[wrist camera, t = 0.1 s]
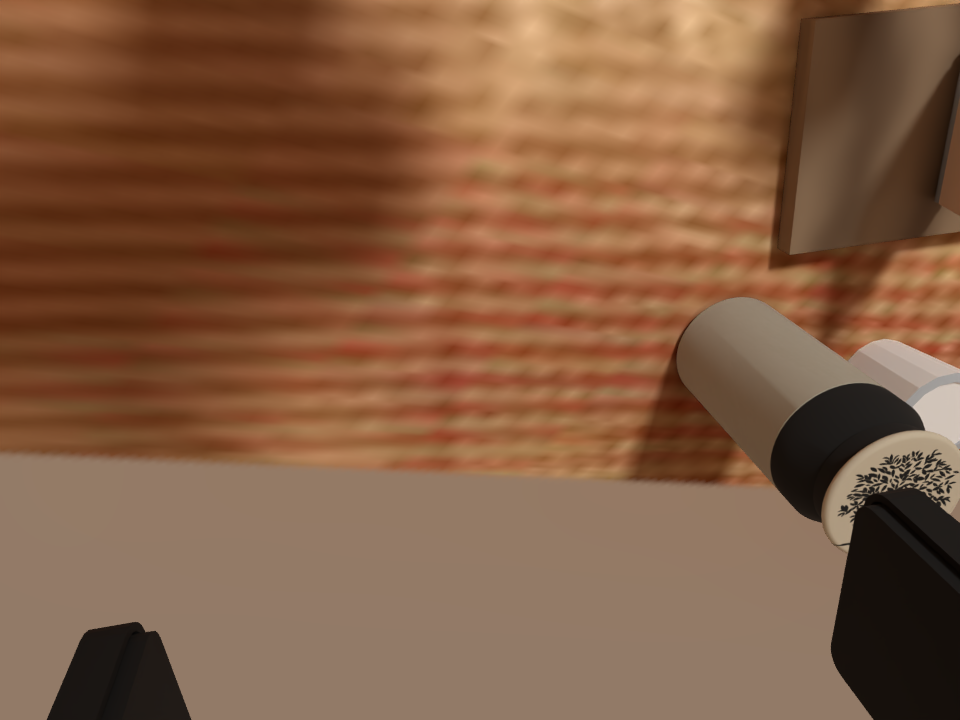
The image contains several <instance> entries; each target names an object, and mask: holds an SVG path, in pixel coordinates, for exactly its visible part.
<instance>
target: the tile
mask: <svg viewBox="0 0 960 720" xmlns="http://www.w3.org/2000/svg"><path fill="white" fill-rule="evenodd" d="M934 201H935V202H937V203H939V204H940V205H942V206H943V207H945V208H947V209H949V210H950V211H952V212H954V213H955V214H957V215H959V216H960V72H959V77H958V82H957V87H956V92H955V97H954V102H953V107H952V112H951V118H950V123H949V128H948V133H947V138H946V143H945V148H944V153H943V158H942V163H941V168H940V173H939V179H938V184H937V189H936V194H935V199H934Z"/></svg>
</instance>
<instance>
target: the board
mask: <svg viewBox="0 0 960 720" xmlns="http://www.w3.org/2000/svg"><path fill="white" fill-rule="evenodd" d="M959 72H960V3H959V4H949V5H939V6H929V7H919V8H909V9H899V10H889V11H879V12H869V13H859V14H848V15H838V16H828V17H818V18H808V19H801V27H800V36H799V46H798V56H797V65H796V75H795V84H794V94H793V104H792V113H791V123H790V133H789V142H788V152H787V162H786V171H785V181H784V191H783V200H782V210H781V220H780V229H779V239H778V249H780V250H782V251H784V252H785V253H787V254H789V255H792V254H800V253H807V252H814V251H822V250H829V249H836V248H844V247H851V246H858V245H866V244H873V243H880V242H887V241H895V240H902V239H909V238H917V237H924V236H931V235H939V234H946V233H953V232H960V216H959V215H957V214H955V213H954V212H952V211H950V210H949V209H947V208H945V207H943V206H942V205H940V204H939V203H937V202H935V201H934V199H935V194H936V189H937V184H938V179H939V173H940V168H941V163H942V158H943V153H944V148H945V143H946V138H947V133H948V128H949V123H950V118H951V112H952V107H953V102H954V97H955V92H956V87H957V82H958V77H959Z"/></svg>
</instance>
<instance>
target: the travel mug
mask: <svg viewBox="0 0 960 720" xmlns="http://www.w3.org/2000/svg"><path fill="white" fill-rule="evenodd" d="M677 370H678V373H679V376H680V378H681V380H682V382H683V383H684V385H685V386H686V387H687V388H688V389H689V391H690V392H691V393H692V394H693V395H694V396H695V397H696V398H697V399H698V401H699V402H700V403H701V404H702V405H703V406H704V407H705V408H706V410H707V411H708V412H709V413H710V414H711V415H712V416H713V417H714V419H715V420H716V421H717V422H718V423H719V424H720V425H721V426H722V428H723V429H724V430H725V431H726V432H727V433H728V434H729V435H730V436H731V438H732V439H733V440H734V441H735V442H736V443H737V444H738V445H739V447H740V448H741V449H742V450H743V451H744V452H745V453H746V454H747V456H748V457H749V458H750V459H751V460H752V461H753V462H754V463H755V465H756V466H757V467H758V468H759V469H760V470H761V471H762V472H763V473H764V475H765V476H766V477H767V478H768V479H769V480H770V481H771V482H772V484H773V485H774V486H775V487H776V488H777V489H778V490H779V491H780V493H781V494H782V495H783V496H784V497H785V498H786V499H787V500H788V501H789V503H790V504H791V505H792V506H793V507H794V508H795V509H796V510H797V511H798V512H799V513H800V514H802V515H803V516H805V517H807V518H809V519H811V520H814V521H817V522H821V523H822V524H823V529H824V531H825V534H826V535H827V537H828V539H829V540H830V541H831V543H832V544H833V545H834V546H836V547H837V548H838V549H840V550H841V551H843V552H845V553H848V550H849V545H850V540H851V534H852V529H853V524H854V518H855V514H856V511H857V510H858V509H859V508H860V507H863V506H864V503H865V500H866V498H867V497H868V496H869V495H872V494H875V493H881V492H887V491H892V490H898V489H904V488H910V487H911V488H916V489H918V490H920V491H922V492H923V493H925V494H926V495H927V496H928V497H929V498H931V499H932V500H933V501H934V502H935V503H937V504H938V505H939V506H940V507H941V508H943V509H944V510H945V511H946V512H947V513H948V514H951V512H952V511H953V509H954V508H955V506H956V504H957V502H958V500H959V498H960V450H959V449H958V448H957V446H956V445H955V444H954V443H953V442H952V441H950V440H949V439H948V438H946V437H944V436H942V435H940V434H937V433H934V432H930V431H925V428H924V425H923V422H922V420H921V417H920V416H919V414H918V413H917V412H916V411H915V409H914V408H912V407H911V406H910V405H909V404H907V403H906V402H904V401H903V400H902V399H900V398H899V397H897V396H896V395H895V394H893V393H892V392H890V391H889V390H887V389H886V388H885V387H883V386H882V385H880V384H879V383H878V382H876V381H875V380H873V379H872V378H870V377H869V376H868V375H866V374H865V373H863V372H862V371H861V370H859V369H858V368H856V367H855V366H854V365H852V364H851V363H849V362H848V361H846V360H845V359H844V358H842V357H841V356H839V355H838V354H837V353H835V352H834V351H832V350H831V349H830V348H828V347H827V346H825V345H824V344H822V343H821V342H820V341H818V340H817V339H815V338H814V337H813V336H811V335H810V334H808V333H807V332H806V331H804V330H803V329H801V328H800V327H798V326H797V325H796V324H794V323H793V322H791V321H790V320H789V319H787V318H786V317H784V316H783V315H781V314H780V313H779V312H777V311H776V310H774V309H773V308H772V307H770V306H769V305H767V304H766V303H764V302H762V301H760V300H757V299H753V298H747V297H738V298H731V299H727V300H723V301H721V302H718V303H716V304H714V305H712V306H710V307H709V308H707V309H706V310H704V311H703V312H702V313H700V314H699V315H698V316H697V317H696V318H695V319H694V320H693V321H692V322H691V324H690V325H689V326H688V328H687V329H686V331H685V332H684V334H683V336H682V338H681V341H680V343H679V347H678V351H677Z"/></svg>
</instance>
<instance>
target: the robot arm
mask: <svg viewBox="0 0 960 720" xmlns="http://www.w3.org/2000/svg"><path fill="white" fill-rule="evenodd" d="M831 654H832V658H833V661H834V664H835V666H836V668H837V670H838V671H839V673H840V674H841V676H842V678H843V679H844V680H845V682H846V683H847V684H848V686H849V687H850V688H851V690H852V691H853V692H854V694H855V695H856V696H857V698H858V699H859V700H860V702H861V703H862V705H863V706H864V707H865V709H866V710H867V711H868V713H869V714H870V715H871V717H872V718H873V719H874V720H960V523H959V522H958V521H957V520H956V519H954V518H953V517H952V516H951V515H950V514H948V513H947V512H946V511H945V510H944V509H943V508H941V507H940V506H939V505H938V504H937V503H935V502H934V501H933V500H932V499H931V498H929V497H928V496H927V495H926V494H925V493H923V492H922V491H920V490H918V489H916V488H911V487H910V488H904V489H898V490H892V491H887V492H881V493H875V494H872V495H869V496H868V497H867V498H866V500H865V503H864V506H863V507H860V508H859V509H858V510H857V511H856V514H855V518H854V524H853V529H852V534H851V540H850V545H849V550H848V556H847V561H846V567H845V572H844V578H843V583H842V588H841V594H840V600H839V605H838V610H837V615H836V620H835V626H834V632H833V637H832V642H831ZM47 720H191V718H190V716H189V712H188V710H187V707H186V704H185V702H184V699H183V696H182V694H181V691H180V689H179V686H178V683H177V680H176V678H175V675H174V673H173V670H172V667H171V664H170V662H169V659H168V657H167V654H166V651H165V649H164V646H163V643H162V640H161V638H160V636H159V634H158V633H157V632H156V631H151V632H145V630H144V629H143V627H142V625H141V624H140V623H138V622H132V623H127V624H121V625H115V626H109V627H104V628H98V629H92V630H88V631H87V632H86V633H85V634H84V635H83V637H82V639H81V640H80V642H79V645H78V647H77V650H76V652H75V654H74V657H73V659H72V661H71V664H70V666H69V668H68V671H67V673H66V676H65V678H64V680H63V683H62V685H61V687H60V690H59V692H58V694H57V697H56V699H55V701H54V704H53V706H52V709H51V711H50V713H49V716H48V718H47Z"/></svg>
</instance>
